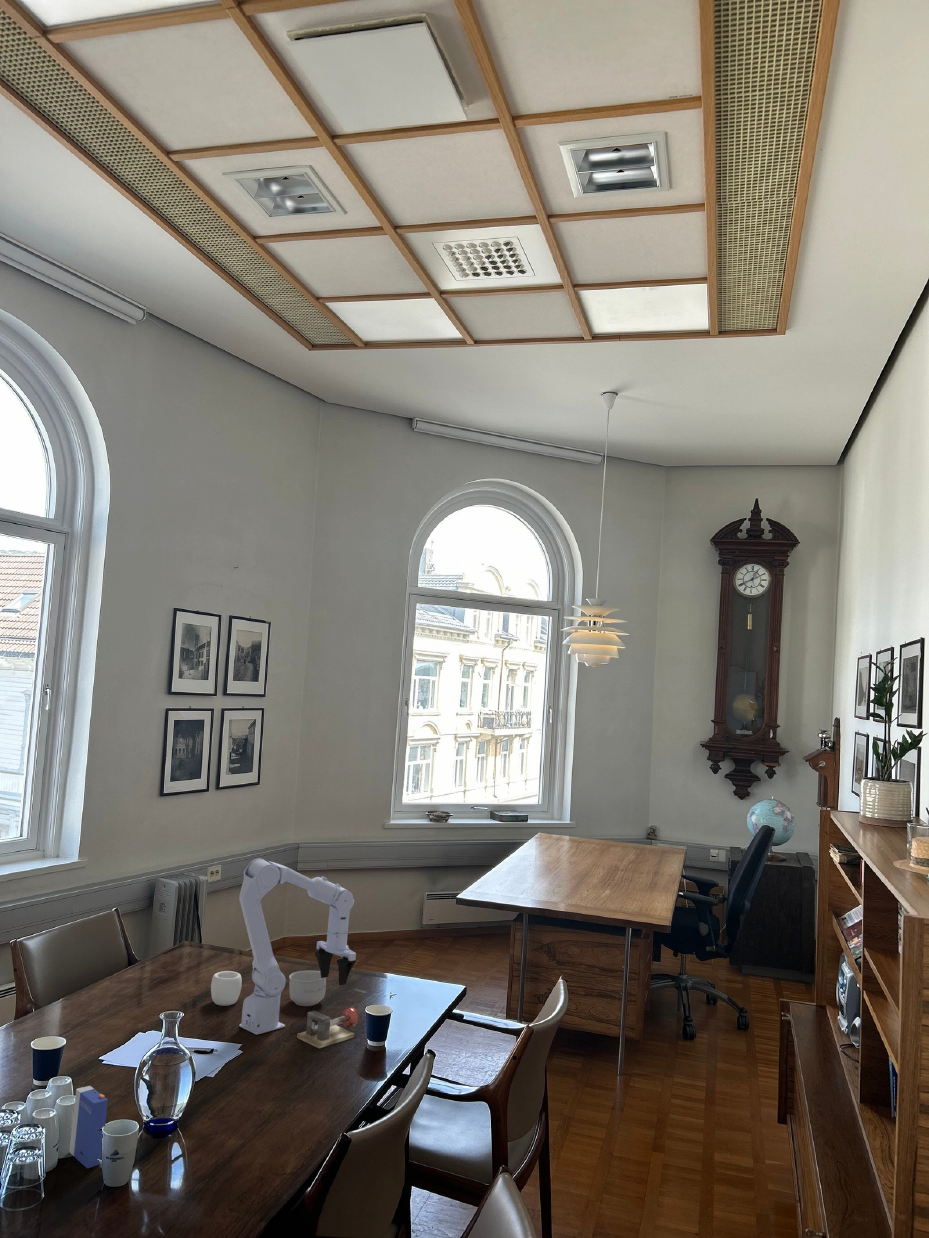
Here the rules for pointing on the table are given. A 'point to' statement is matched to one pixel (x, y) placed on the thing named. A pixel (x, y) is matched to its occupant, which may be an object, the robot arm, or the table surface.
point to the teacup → (307, 987)
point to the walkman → (88, 1126)
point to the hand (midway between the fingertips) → (333, 980)
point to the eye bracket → (323, 1031)
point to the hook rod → (342, 1019)
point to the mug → (226, 987)
